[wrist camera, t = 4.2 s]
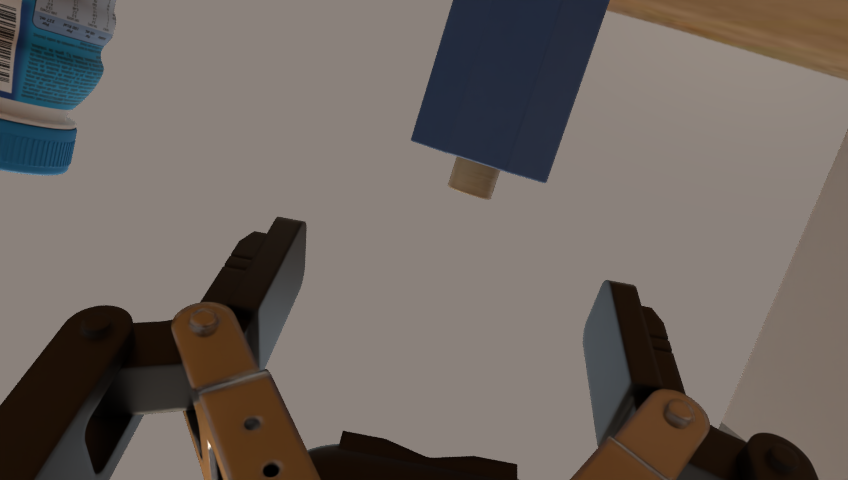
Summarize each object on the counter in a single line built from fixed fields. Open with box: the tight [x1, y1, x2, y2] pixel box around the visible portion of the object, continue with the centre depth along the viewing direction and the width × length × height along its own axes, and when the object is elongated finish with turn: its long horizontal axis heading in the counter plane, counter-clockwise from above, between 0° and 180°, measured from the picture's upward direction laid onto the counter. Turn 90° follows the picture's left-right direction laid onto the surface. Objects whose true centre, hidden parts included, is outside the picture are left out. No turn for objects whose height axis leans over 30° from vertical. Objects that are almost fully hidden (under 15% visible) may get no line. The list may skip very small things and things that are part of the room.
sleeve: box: [411, 0, 610, 183], centre depth 23 cm, size 5×5×10 cm
